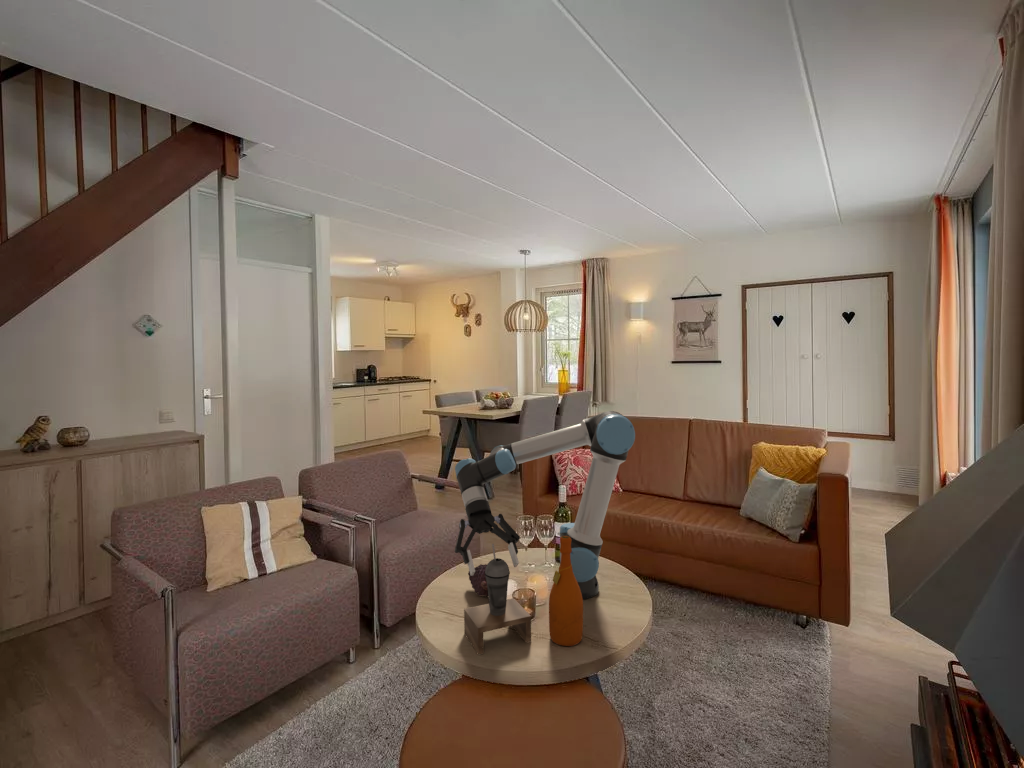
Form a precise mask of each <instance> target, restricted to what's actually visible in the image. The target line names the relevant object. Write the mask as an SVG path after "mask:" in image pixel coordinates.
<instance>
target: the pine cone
mask: <svg viewBox="0 0 1024 768" xmlns="http://www.w3.org/2000/svg"><path fill="white" fill-rule="evenodd" d="M486 566H487V564H486V563H485V564H482V563H481V564H480V563H479V565H478V566H474V568H475V573H474V575H472V576H471V575H470V571H469V570H468V573H467V574H468V580H469V581H470V585H471V588H472V589H473V591H474V593H477V594H478V596H482V597H488V589H487V581H486V577H485V570H486Z"/></svg>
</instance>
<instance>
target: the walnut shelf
mask: <svg viewBox="0 0 1024 768" xmlns="http://www.w3.org/2000/svg"><path fill="white" fill-rule="evenodd" d="M463 616H464V617H463V618H464V622H463V625H464V628H463V629H464V630H463V631H464V635H465V637H466V636H467V637H466V639H467V640H468V641H469V643H470V644H471V647H473V649H474V650H476V651H477V652H476V651H475V652H476V654H477V653H478V654H481V655H484V654H483V653H484V652H485V651H484V633H487V632H490V631H494V630H495V631H496V630H499V629H503V628H507V627H512V628H513V629H514V630H515V631H516V632H517V634H519V636H520V637H521V639H522V640H523V641H524V642H525V643H527V644H528V643H530V642H532V615H531V614H530V613H529V612H528V611H527V610H526V609H525V608H524V607H523V606H522V605H521V604H520V603H519V602H518V601H517V600H516V598H509V599H507V602H506V612H505V614H503V615H501V616H494V615H492V614H491V613H490V608H489V603H485V604H480V605H476V606H470V607H466V608H464V609H463ZM478 654H477V655H478Z"/></svg>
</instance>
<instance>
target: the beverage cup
mask: <svg viewBox="0 0 1024 768" xmlns="http://www.w3.org/2000/svg"><path fill="white" fill-rule="evenodd" d="M491 547H492V555H493V558H492V559H491V560H490V561H488V563H487V564H486V565H487V566H486V570H485V577H486V581H487V589H488V596H487V597H488V604H489V608H490V613H491V614H492V615H494V616H501V615H503V614H505V612H506V602H507V600H508V599H507V598H508V585H509V579H510V573H511V572H510V567H509V565H508V563H507V562H506V560H504V559H502V558H498V557H496V550H495V544H494V543H492V544H491Z"/></svg>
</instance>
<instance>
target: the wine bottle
mask: <svg viewBox="0 0 1024 768" xmlns="http://www.w3.org/2000/svg"><path fill="white" fill-rule="evenodd" d="M571 552H572V549H571V538H570V537H569V536H562V537H560V536H559V554H560V553H561V563H560V562H559V566H558V570H555V571H554V574H553V578H552V581H553V583H552V586H551V589H550V592H549V593H550V594H549V597H548V598H549V599H548V627H549V629H548V631H549V637H550V640H551V641H552V642H553V643H554V644H556V645H558V646H562V647H572V646H576V645H578V644H579V643H580V642H581V641H582V640H583V636H584V630H583V629H584V599H583V598H582V594H581V590H580V588H579V585H578V583H577V580H576V578H575V576H574V573H573V569H572V564H571V559H570V553H571Z"/></svg>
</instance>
